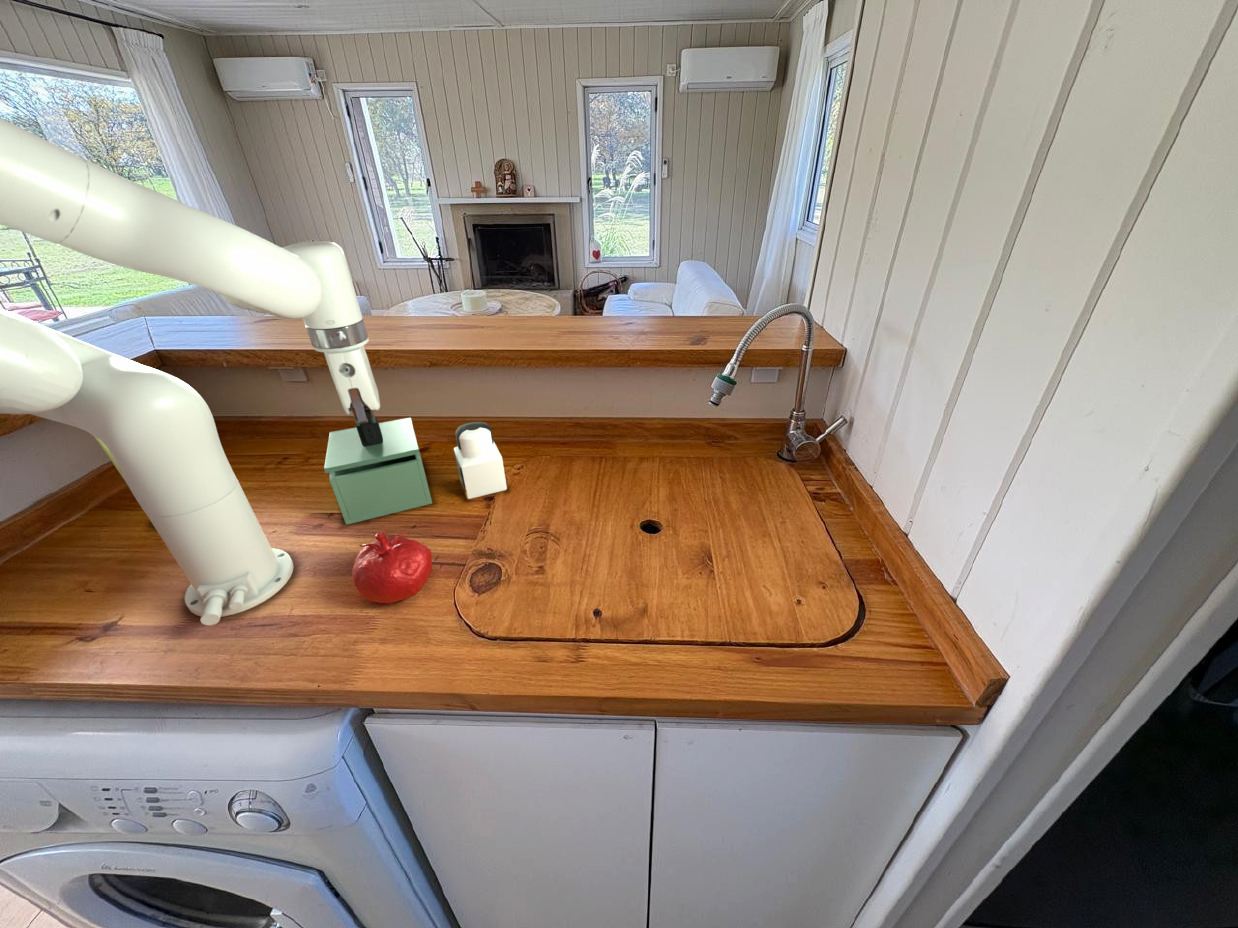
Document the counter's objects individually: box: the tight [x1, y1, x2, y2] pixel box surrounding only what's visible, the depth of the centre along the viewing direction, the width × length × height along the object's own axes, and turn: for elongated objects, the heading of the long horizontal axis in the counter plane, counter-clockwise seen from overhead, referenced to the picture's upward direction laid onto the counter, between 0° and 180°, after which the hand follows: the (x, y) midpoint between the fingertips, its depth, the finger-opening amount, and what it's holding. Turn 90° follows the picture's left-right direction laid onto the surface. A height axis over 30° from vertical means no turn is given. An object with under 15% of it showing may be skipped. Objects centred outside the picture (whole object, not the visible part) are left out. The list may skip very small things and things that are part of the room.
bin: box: [329, 453, 433, 526], centre depth 87 cm, size 16×14×9 cm
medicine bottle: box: [453, 421, 508, 500], centre depth 88 cm, size 7×7×12 cm
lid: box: [323, 417, 421, 474], centre depth 84 cm, size 16×14×1 cm
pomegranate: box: [351, 529, 433, 604], centre depth 67 cm, size 10×10×9 cm
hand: (373, 442), depth 83 cm, fingers closed
